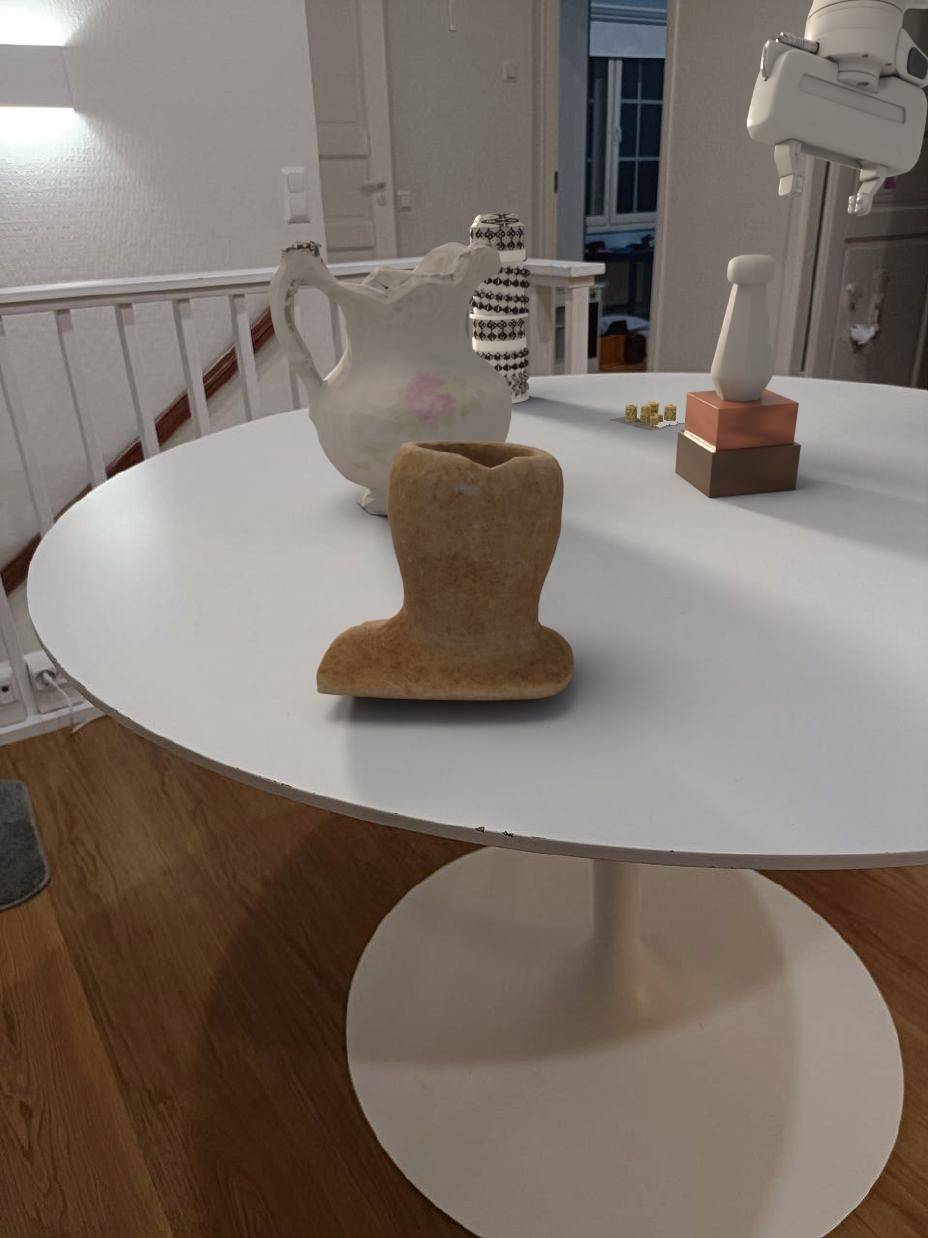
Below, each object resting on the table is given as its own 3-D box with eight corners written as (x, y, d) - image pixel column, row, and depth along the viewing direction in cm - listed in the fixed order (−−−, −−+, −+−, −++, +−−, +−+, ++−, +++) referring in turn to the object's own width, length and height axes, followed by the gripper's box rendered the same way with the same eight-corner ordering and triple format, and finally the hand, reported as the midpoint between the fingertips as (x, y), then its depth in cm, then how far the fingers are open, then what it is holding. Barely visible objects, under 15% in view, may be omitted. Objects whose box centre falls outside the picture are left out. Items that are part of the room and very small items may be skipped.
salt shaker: (697, 398, 87) (707, 256, 81) (730, 388, 90) (742, 251, 85) (749, 405, 83) (763, 257, 77) (781, 395, 86) (798, 252, 81)
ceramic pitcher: (352, 563, 77) (333, 259, 65) (265, 494, 91) (236, 233, 79) (546, 511, 88) (561, 241, 75) (442, 456, 102) (440, 222, 89)
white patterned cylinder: (464, 394, 134) (457, 214, 123) (523, 389, 136) (521, 211, 125) (475, 407, 126) (469, 215, 115) (538, 401, 128) (537, 212, 117)
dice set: (622, 420, 116) (623, 405, 115) (651, 413, 118) (651, 399, 117) (650, 426, 112) (650, 411, 111) (678, 420, 114) (679, 405, 114)
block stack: (754, 465, 95) (763, 385, 91) (795, 489, 87) (806, 403, 83) (675, 472, 94) (680, 391, 90) (708, 497, 86) (716, 410, 82)
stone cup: (573, 632, 61) (576, 416, 54) (574, 726, 50) (578, 471, 44) (359, 630, 63) (337, 420, 56) (316, 720, 52) (283, 474, 46)
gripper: (792, 12, 79) (768, 177, 82) (946, 70, 88) (920, 217, 91) (744, 38, 85) (723, 191, 88) (893, 90, 93) (870, 228, 96)
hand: (824, 205), depth 89 cm, fingers open, 8 cm apart
